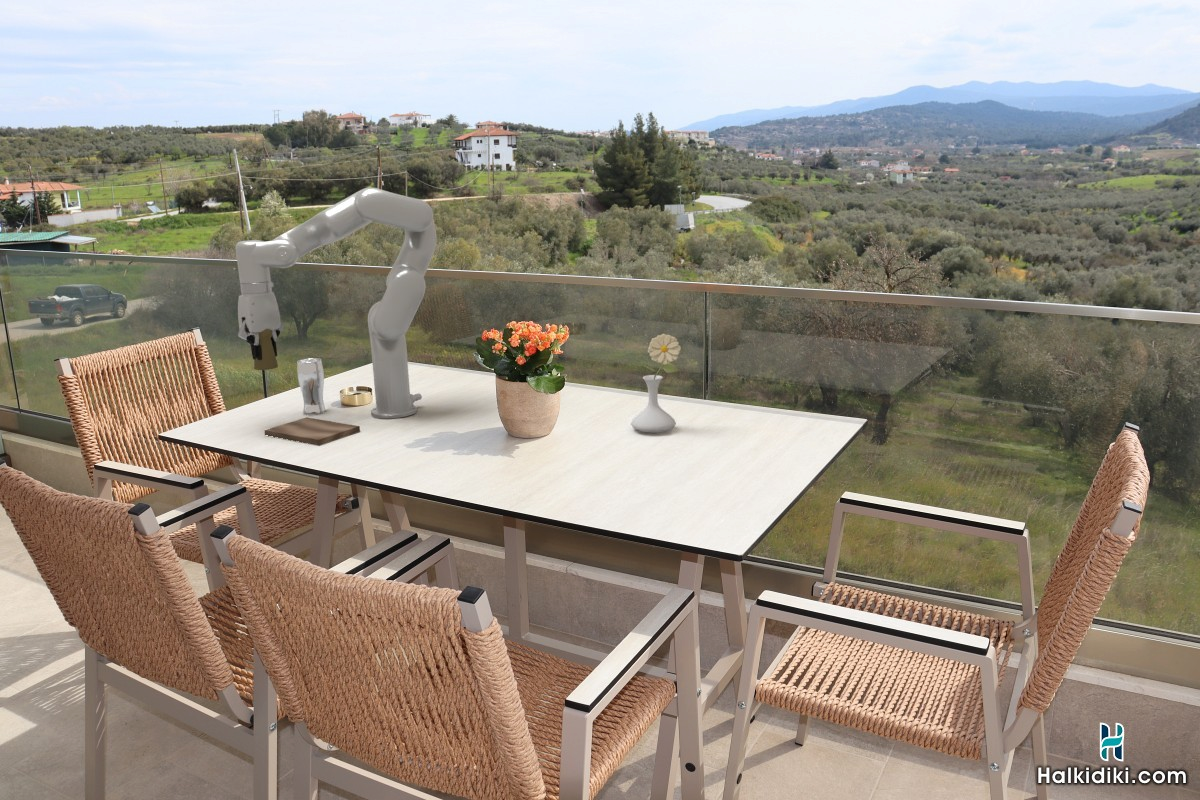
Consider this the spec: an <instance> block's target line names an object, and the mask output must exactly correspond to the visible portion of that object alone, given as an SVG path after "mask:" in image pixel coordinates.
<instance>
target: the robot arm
mask: <svg viewBox="0 0 1200 800" xmlns="http://www.w3.org/2000/svg"><path fill="white" fill-rule="evenodd" d="M371 223H378V224H381V225H385V226H388V227H389V226H390V227H394V228H398V229H402V230H404V240H403V243H402V245H401V247H400V250H399V254H398V255H397V256H396V257H397V258H396V259H395V261H394V263H393V266H392V267H391V269H390V271H389V273H388V275H387V276H386V281H385V285H386V290H385V292H384V293H383V296H382V298H381V300H379V301H377V302H376V303H374V304H373V305H372V306H371V307H370V309H369V310H368V314H367V326H368V327H367V328H368V334H369V341H370V352H371V360H372V361H371V362H372V374H373V383H374V395H375V396H374V397H375V406H376V407H373V408H372V409H371V411H370V413H371V414H370V415H371V417H374V418H376V419H377V418H378V419H399V418H406V417H409V416H412V415H414V414H416V413H417V412H418V408H417V406H416V405H414V403H415V402H418V401H420V400H422V398H423V395H422V394H421V393H419V392H418V393H415V394H412V393H411V389H410V377H409V365H408V363H409V362H408V351H407V350H408V348H407V342H406V341H407V340H406V333H407V331H408V330H409V328H410V326H411V323H412V322H413V320H414V317H415V315H416V314H417V311H418V309H419V307H420V305H421V303H422V302H423V299H424V296H425V292H426V287H427V286H426V285H427V284H426V280H425V275H426V273H427V271H428V269H429V266H430V264H431V261H432V258H433V256H434V254H435V250H436V247H437V229H436V224H435V221H434V211H433V209H432V207H431V206H430V204H429V203H428V202H427V201H425V200H422V199H419V198H415V197H412V196H406V195H403V194H402V195H401V194H399V193H395V192H390V191H387V190H384V189H381V188H377V187H365V188H362V189H360V190H358V191H357V192H354V193H353V194H351V195H349V196H347V197H346V198H344V199H341V200H340V201H338V202H337V203H335V204H333V205H331V206H330V207H328V208H326V209H324V210H322V211H320V212H318V213H317V214H315V215H314V216H312V217H311V218H309V219H308V220H306V221H304V222H302V223H300V224H298V225H297V226H295V227H293V228H291V229H289V230H287V231H285V232H284V233H282V234H280V235H279V236H277V237H275V238H274V239H272V240H268V241H263V240H260V239H259V240H258V239H254V240H253V239H251V240H241V241H238V242H237V243H236V245H235V255H236V262H237V263H236V264H237V270H238V276H239V277H238V279H239V286H240V293H241V294H240V295H238V299H237V300H238V301H237V321H238V328H239V329H238V333H237V336H238V337H239V338H241V339H242V340H244V341H245V342H246V343H247V344H248V345H250V350H251V357H252V359H253V360H256V358H257V359H258V360H262V349H261V345H259V334H258V333H260V332H262V331H263V330H265V329H270V330H272V337H271V341H272V345H273V349H274V353H275V356H276V357H278V349H277V341H278V337H279V336H280V334H281V332H283V331H284V330H285V325H284V323H283V322H282V320H281V314H280V310H279V309H280V308H279V304H278V302H277V301H278V300H277V298H276V295H275V293H274V291H273V289H272V288H274V286H275V283H274V282H273V281H271V272H270V268H274V269H276V268H277V269H287V268H290V267H294V265H295V264H296V263H297V262H298V259H300V258H302V257H303V256H305V255H307V254H309V253H311V252H313V251H314V250H316V249H319V248H320V247H323V246H325V245H330V244H333V243H337V242H339V241H341V240H343V239H345V238H347V237H348V236H350V235H351V234H354V233H355V232H357V231H359V230H361V229H362V228H364V227H366V226H367V225H369V224H371ZM247 333H248V334H247ZM252 335H254V339H253V337H252Z"/></svg>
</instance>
